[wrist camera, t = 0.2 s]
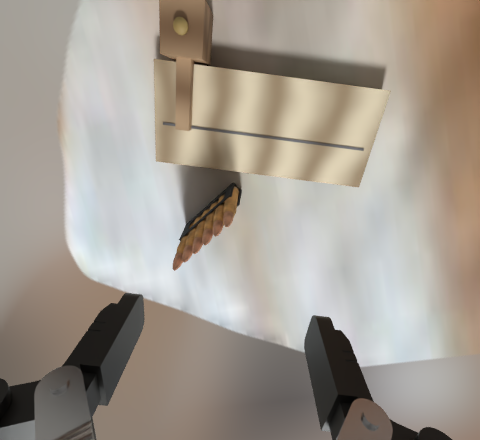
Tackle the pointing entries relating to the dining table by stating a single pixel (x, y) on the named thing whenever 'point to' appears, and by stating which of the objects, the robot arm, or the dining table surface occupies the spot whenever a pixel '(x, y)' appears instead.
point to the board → (269, 124)
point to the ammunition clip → (207, 224)
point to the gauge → (185, 48)
